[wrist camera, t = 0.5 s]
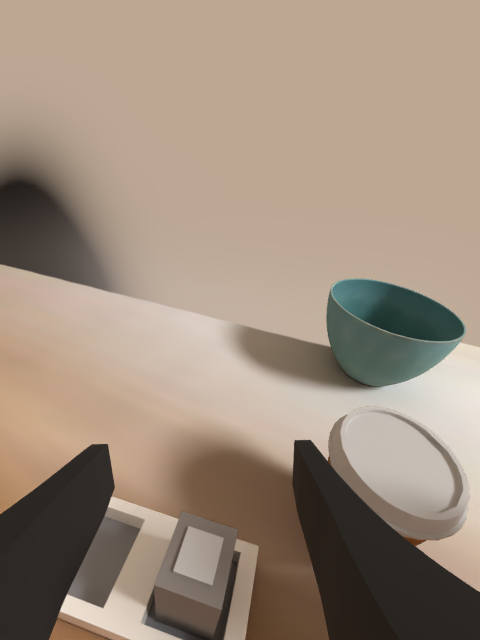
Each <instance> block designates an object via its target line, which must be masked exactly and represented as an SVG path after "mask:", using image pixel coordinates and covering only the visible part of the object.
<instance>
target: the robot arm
mask: <svg viewBox="0 0 480 640" xmlns="http://www.w3.org/2000/svg"><path fill="white" fill-rule="evenodd" d="M114 488H115V486H114V480H113V474H112V467H111V461H110V455H109V449H108V444H92V445H91V446H89V447H88V448H86V449H85V450H84V451H83V452H81V453H80V454H79V455H78V456H76V457H75V458H74V459H73V460H71V461H70V462H69V463H68V464H66V465H65V466H64V467H63V468H61V469H60V470H59V471H58V472H56V473H55V474H54V475H52V476H51V477H50V478H49V479H47V480H46V481H45V482H44V483H42V484H41V485H40V486H38V487H37V488H36V489H34V490H33V491H32V492H30V493H29V494H28V495H26V496H25V497H24V498H22V499H21V500H19V501H18V502H17V503H15V504H14V505H13V506H11V507H10V508H9V509H7V510H6V511H4V512H3V513H2V514H0V640H49V638H50V635H51V633H52V630H53V627H54V625H55V622H56V620H57V617H58V615H59V612H60V610H61V607H62V605H63V602H64V600H65V598H66V596H67V593H68V591H69V589H70V587H71V585H72V583H73V581H74V579H75V577H76V574H77V572H78V570H79V568H80V566H81V564H82V562H83V560H84V558H85V556H86V554H87V552H88V550H89V548H90V546H91V544H92V542H93V540H94V537H95V535H96V533H97V531H98V529H99V527H100V525H101V523H102V521H103V518H104V516H105V514H106V511H107V508H108V505H109V503H110V500H111V497H112V494H113V491H114ZM293 489H294V495H295V501H296V506H297V512H298V515H299V519H300V523H301V526H302V530H303V533H304V537H305V541H306V544H307V548H308V551H309V555H310V558H311V562H312V565H313V569H314V572H315V576H316V579H317V583H318V587H319V591H320V595H321V600H322V605H323V609H324V614H325V619H326V624H327V629H328V634H329V639H330V640H480V592H479V591H477V590H475V589H474V588H472V587H471V586H469V585H468V584H466V583H465V582H463V581H462V580H461V579H459V578H458V577H456V576H455V575H453V574H452V573H450V572H449V571H448V570H446V569H445V568H443V567H442V566H440V565H439V564H438V563H436V562H435V561H434V560H432V559H431V558H430V557H428V556H427V555H426V554H424V553H423V552H422V551H421V550H419V549H418V548H417V547H415V546H414V545H413V544H412V543H410V542H409V541H408V540H406V539H405V538H404V537H403V536H402V535H400V534H399V533H398V532H397V531H395V530H394V529H393V528H392V527H391V526H390V525H389V524H387V523H386V522H385V521H384V520H383V519H382V518H381V517H380V516H379V515H377V514H376V513H375V512H374V511H373V510H372V509H371V508H370V507H369V506H368V505H367V504H366V503H365V502H364V501H363V500H362V499H361V498H360V497H359V496H358V495H357V494H356V493H355V492H354V491H353V490H352V488H351V487H350V486H349V485H348V484H347V483H346V482H345V481H344V480H343V479H342V477H341V476H340V475H339V474H338V473H337V472H336V471H335V469H334V468H333V467H332V466H331V465H330V463H329V462H328V461H327V460H326V459H325V457H324V456H323V455H322V454H321V452H320V451H319V450H318V449H317V447H316V446H315V445H314V443H313V442H312V441H311V440H295V442H294V463H293Z"/></svg>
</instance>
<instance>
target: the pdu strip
mask: <svg viewBox="0 0 480 640" xmlns="http://www.w3.org/2000/svg"><path fill="white" fill-rule="evenodd" d="M178 520H179V519H177V518H174V517H171V516H168V515H165V514H163V513H160V512H157V511H154V510H151V509H148V508H145V507H142V506H139V505H136V504H133V503H130V502H127V501H124V500H121V499H118V498H115V497H111V500H110V503H109V505H108V508H107V511H106V514H105V516H104V518H103V521H102V523H101V525H100V527H99V529H98V531H97V533H96V535H95V537H94V540H93V542H92V544H91V546H90V548H89V550H88V552H87V554H86V556H85V558H84V560H83V562H82V564H81V566H80V568H79V570H78V572H77V574H76V577H75V579H74V581H73V583H72V585H71V587H70V589H69V591H68V593H67V596H66V598H65V600H64V602H63V605H62V607H61V610H60V612H59V615H58V617H57V619H59V620H62V621H64V622H67V623H69V624H72V625H74V626H76V627H79V628H81V629H84V630H86V631H89V632H91V633H94V634H96V635H99V636H101V637H104V638H106V639H108V640H203V639H201V638H198V637H196V636H193V635H190V634H188V633H185V632H183V631H180V630H178V629H175V628H172V627H170V626H167V625H165V624H162V623H159V622H157V621H156V611H155V596H154V583H155V580H156V578H157V575H158V572H159V570H160V567H161V565H162V562H163V559H164V557H165V554H166V551H167V549H168V546H169V543H170V541H171V538H172V535H173V533H174V530H175V528H176V525H177V522H178ZM258 550H259V546H257V545H254V544H251V543H248V542H245V541H242V540H240V539H236V544H235V549H234V553H233V558H232V563H231V568H230V572H229V577H228V582H227V587H226V591H225V596H224V601H223V606H222V610H221V613H220V617H219V620H218V623H217V626H216V629H215V632H214V635H213V639H212V640H245V637H246V630H247V623H248V617H249V610H250V603H251V596H252V590H253V583H254V576H255V570H256V563H257V556H258Z"/></svg>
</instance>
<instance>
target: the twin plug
mask: <svg viewBox="0 0 480 640" xmlns="http://www.w3.org/2000/svg"><path fill="white" fill-rule="evenodd" d="M237 534H238V529H235V528H232V527H229V526H226V525H223V524H220V523H217V522H214V521H211V520H208V519H205V518H202V517H199V516H196V515H193V514H190V513H187V512H184V511H182V512H181V514H180V517H179V520H178V522H177V525H176V528H175V530H174V533H173V535H172V538H171V541H170V543H169V546H168V549H167V551H166V554H165V557H164V559H163V562H162V565H161V567H160V570H159V572H158V575H157V578H156V580H155V583H154V596H155V611H156V621H157V622H159V623H162V624H165V625H167V626H170V627H172V628H175V629H178V630H180V631H183V632H185V633H188V634H190V635H193V636H196V637H198V638H201V639H203V640H212V639H213V635H214V632H215V629H216V626H217V623H218V620H219V617H220V613H221V610H222V606H223V601H224V596H225V591H226V587H227V582H228V577H229V572H230V568H231V563H232V558H233V553H234V549H235V544H236V539H237Z"/></svg>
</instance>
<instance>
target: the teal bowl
mask: <svg viewBox="0 0 480 640" xmlns="http://www.w3.org/2000/svg"><path fill="white" fill-rule="evenodd" d="M327 331H328V337H329V341H330V345H331V348H332V350H333V353H334V355H335V357H336V359H337V361H338V363H339V365H340V366H341V368H342V369H343V370H344V372H345V373H346V374H348V375H349V376H350V377H352V378H353V379H355V380H357V381H359V382H361V383H364V384H367V385H371V386H387V385H393V384H397V383H401V382H404V381H407V380H410V379H412V378H415V377H417V376H419V375H421V374H423V373H424V372H426V371H428V370H429V369H431V368H432V367H434V366H435V365H437V364H438V363H439V362H440V361H442V360H443V359H444V358H445V357H446V356H447V355H448V354H449V353H450V352H451V351H452V350H453V349H454V348H455V347H456V346H457V345H458V344H459V343H460V341H461V340H462V338H463V337H464V336H465V334H466V327H465V324H464V323H463V321H462V320H461V319H460V318H459V317H458V316H457V315H456V314H455V313H454V312H452V311H451V310H450V309H448V308H447V307H445V306H444V305H442V304H440V303H439V302H437V301H435V300H433V299H431V298H429V297H427V296H425V295H423V294H420V293H418V292H415V291H413V290H410V289H407V288H404V287H401V286H398V285H395V284H391V283H386V282H382V281H377V280H370V279H356V278H355V279H344V280H341V281H338V282H336V283H335V284H333V286H332V287H331V290H330V294H329V298H328V305H327Z"/></svg>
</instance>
